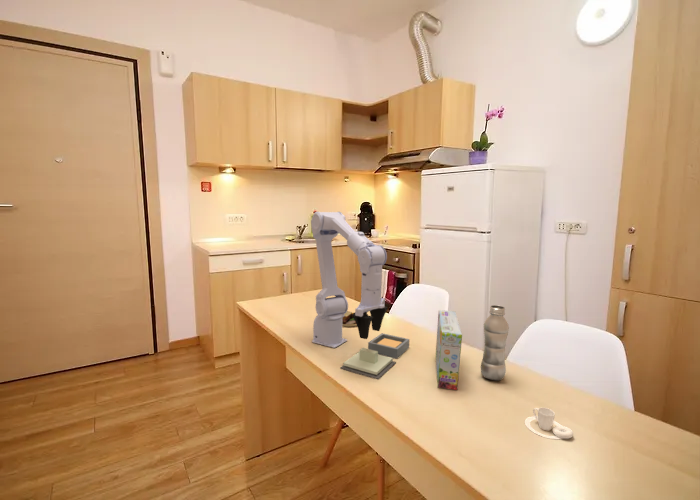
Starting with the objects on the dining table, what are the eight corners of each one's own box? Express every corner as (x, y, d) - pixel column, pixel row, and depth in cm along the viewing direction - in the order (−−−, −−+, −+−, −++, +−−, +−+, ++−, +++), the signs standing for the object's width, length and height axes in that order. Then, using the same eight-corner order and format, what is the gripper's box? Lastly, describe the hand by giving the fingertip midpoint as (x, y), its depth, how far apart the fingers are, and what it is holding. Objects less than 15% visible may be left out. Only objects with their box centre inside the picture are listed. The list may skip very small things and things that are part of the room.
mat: (340, 368, 102) (340, 367, 102) (360, 354, 112) (360, 352, 112) (378, 379, 96) (378, 378, 96) (396, 363, 106) (396, 361, 106)
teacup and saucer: (579, 441, 73) (581, 422, 72) (545, 446, 71) (547, 427, 71) (547, 416, 81) (548, 399, 81) (516, 420, 80) (517, 403, 79)
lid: (343, 366, 102) (343, 352, 102) (361, 353, 111) (361, 341, 111) (376, 376, 97) (377, 361, 96) (392, 362, 106) (393, 348, 106)
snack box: (459, 391, 91) (463, 334, 89) (437, 388, 92) (440, 332, 90) (453, 357, 112) (455, 310, 110) (434, 355, 113) (437, 308, 111)
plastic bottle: (504, 374, 100) (509, 305, 98) (506, 385, 94) (511, 311, 92) (479, 370, 103) (484, 302, 100) (480, 381, 96) (485, 309, 94)
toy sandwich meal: (355, 330, 134) (355, 318, 134) (324, 324, 140) (324, 312, 140) (369, 321, 145) (369, 309, 145) (340, 315, 151) (340, 305, 151)
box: (368, 351, 114) (368, 342, 114) (381, 341, 123) (381, 333, 123) (397, 358, 109) (397, 349, 109) (409, 347, 118) (409, 339, 118)
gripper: (372, 295, 94) (370, 345, 95) (394, 285, 106) (393, 329, 108) (349, 291, 97) (348, 339, 99) (373, 282, 110) (372, 325, 111)
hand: (370, 334), depth 104 cm, fingers open, 7 cm apart
